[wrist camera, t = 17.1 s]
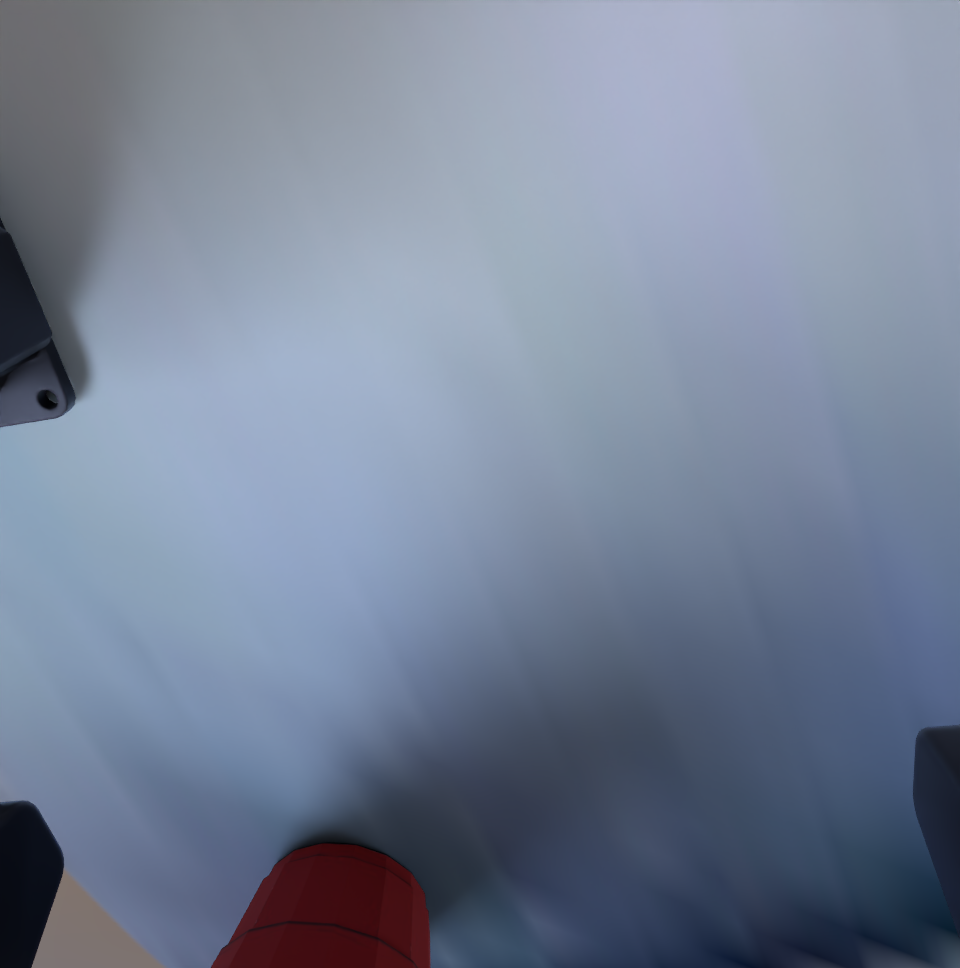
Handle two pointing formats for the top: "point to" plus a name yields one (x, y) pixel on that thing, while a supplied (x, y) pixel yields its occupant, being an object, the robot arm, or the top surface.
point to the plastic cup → (333, 914)
